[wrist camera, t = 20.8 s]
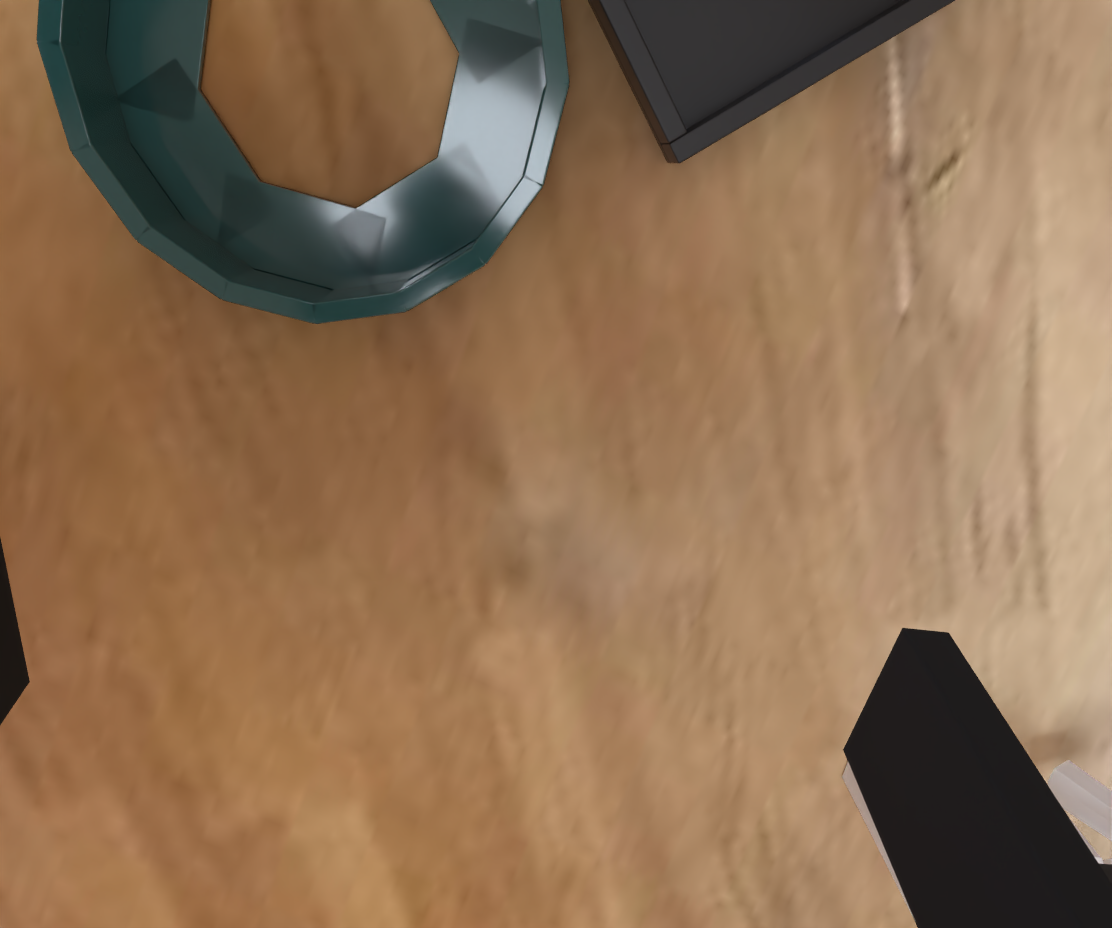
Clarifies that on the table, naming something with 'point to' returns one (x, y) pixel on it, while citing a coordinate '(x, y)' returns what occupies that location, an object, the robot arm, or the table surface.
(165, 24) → the teal ring
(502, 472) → the table surface
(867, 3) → the tray
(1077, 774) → the mug
